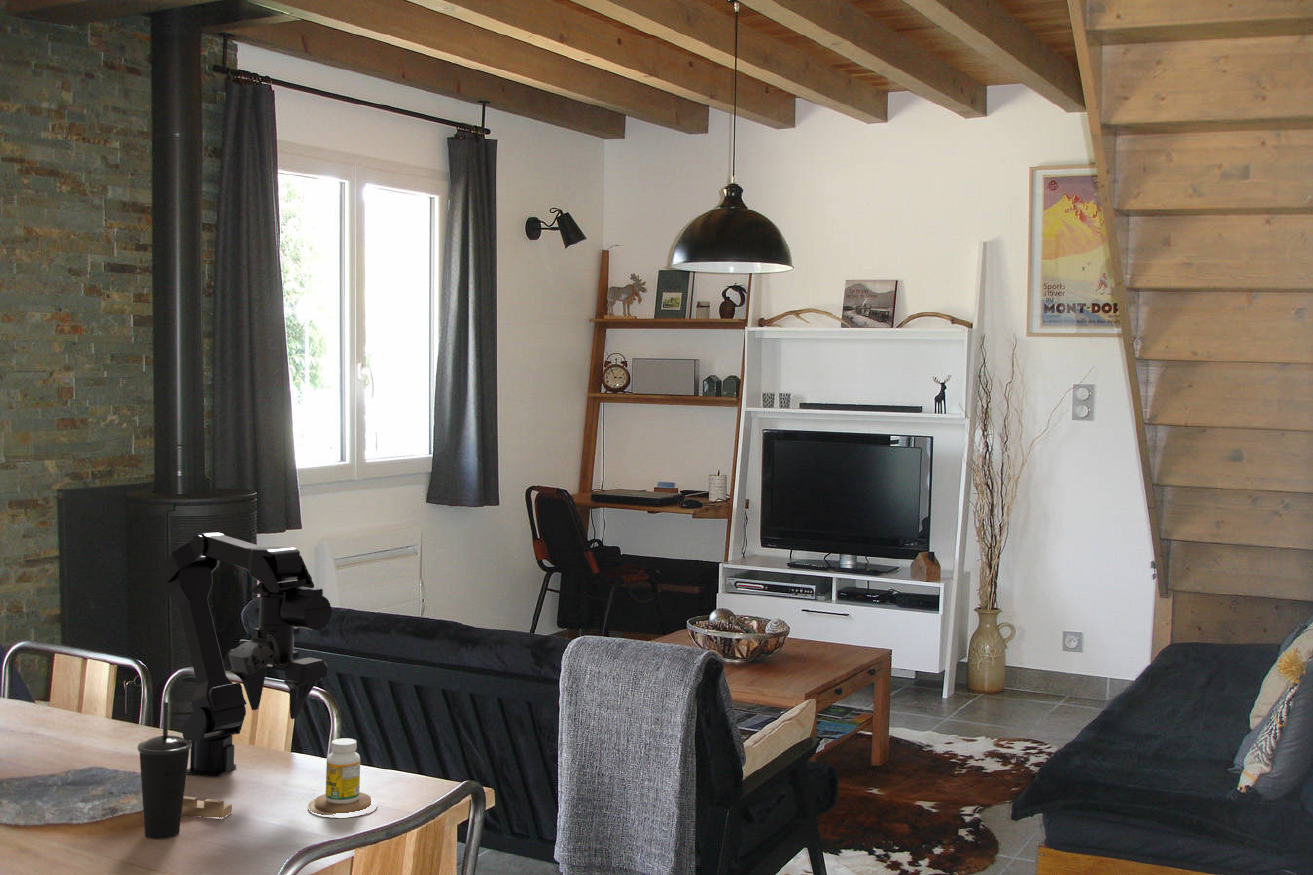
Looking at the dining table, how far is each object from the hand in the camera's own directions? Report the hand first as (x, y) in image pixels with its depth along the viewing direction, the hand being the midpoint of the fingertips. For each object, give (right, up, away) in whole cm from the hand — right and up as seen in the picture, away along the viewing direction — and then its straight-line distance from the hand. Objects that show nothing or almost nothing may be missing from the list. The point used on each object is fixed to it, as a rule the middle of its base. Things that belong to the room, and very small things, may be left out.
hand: (274, 714), depth 210 cm
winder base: (+13, -14, -7) cm, 20 cm away
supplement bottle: (+13, -13, -6) cm, 19 cm away
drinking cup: (-10, -14, -22) cm, 28 cm away
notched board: (-7, -13, -12) cm, 20 cm away
